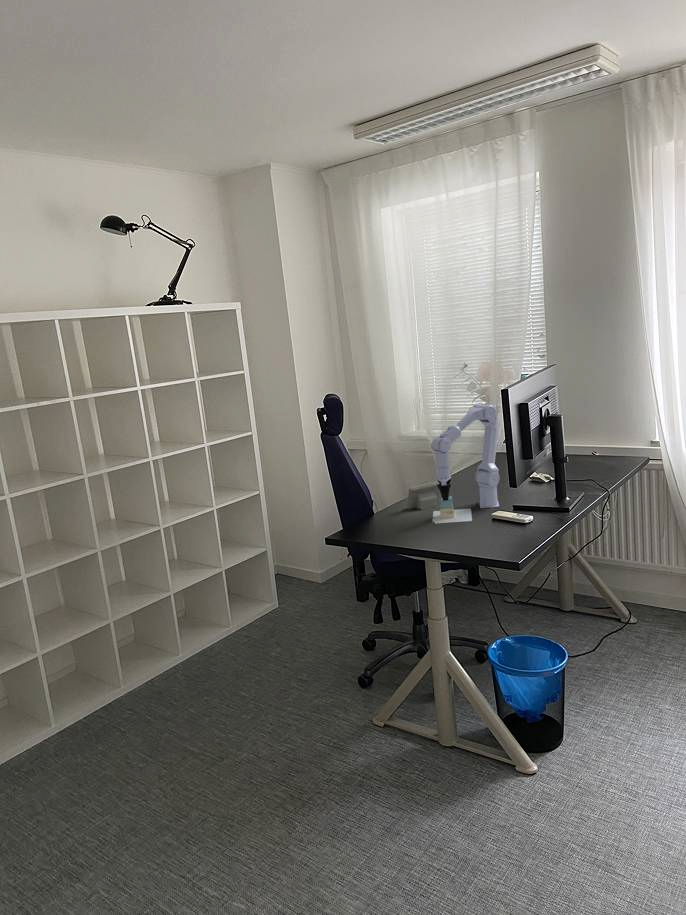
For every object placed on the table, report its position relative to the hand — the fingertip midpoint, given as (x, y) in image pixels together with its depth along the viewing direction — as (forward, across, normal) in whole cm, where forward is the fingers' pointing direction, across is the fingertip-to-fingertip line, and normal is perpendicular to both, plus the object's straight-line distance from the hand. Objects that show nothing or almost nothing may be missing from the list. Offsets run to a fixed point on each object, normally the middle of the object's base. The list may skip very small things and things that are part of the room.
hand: (445, 498), depth 295 cm
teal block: (+4, 0, 0) cm, 4 cm away
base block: (+8, 0, 0) cm, 8 cm away
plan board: (+8, 0, +2) cm, 9 cm away
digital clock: (+9, -19, -10) cm, 23 cm away
